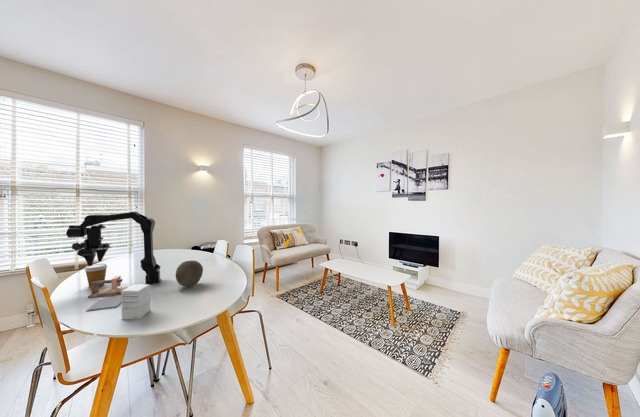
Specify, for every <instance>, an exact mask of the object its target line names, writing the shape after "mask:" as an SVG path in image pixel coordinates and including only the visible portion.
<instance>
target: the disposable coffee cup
mask: <svg viewBox="0 0 640 417" xmlns="http://www.w3.org/2000/svg"><path fill="white" fill-rule="evenodd" d="M107 268H108V266H107V263H93V264H92V266H89V265H86V266H85V267H84V270H83V271H85V274H86V278H87V284H88V287H89V288H90V289H91V282H93V281H103V280H106V273H107ZM104 285H105V284H98V288H99V287H102V286H104Z"/></svg>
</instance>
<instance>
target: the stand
mask: <svg viewBox="0 0 640 417" xmlns="http://www.w3.org/2000/svg"><path fill="white" fill-rule="evenodd" d="M117 282H121V283H122V282H123V278H121V279H118V280H117ZM98 284H104V285H105V284H111V279H105V280H103V281H93V282H91V288H90V290H91V293H90V294H89V295H87V298H88V299H90V298H99V297H100V298H101V297H107V296H114V295H116V296H117V295H118V296H119V295H121V291H122V290H124V289H126V288H128V286H123V287H121V286H120V287H117V289H113V290H111V288H103V289H99V287H98Z"/></svg>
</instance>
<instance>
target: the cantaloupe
mask: <svg viewBox="0 0 640 417" xmlns="http://www.w3.org/2000/svg"><path fill="white" fill-rule="evenodd" d="M203 268H204V267H203V265H202V264H201V263H200V262H199V261H198V260H192V259H191V260H185V261H183V262H181V263H180V264H179V265H178V266H177V268H176V271H175V279H176V282H177V284H179V285H180V286H181V287H185V288H191V287H194V286H195V285H197V284H198V283H199V282H200V280H201V279H202V276H203V273H204V272H203V271H204V269H203Z"/></svg>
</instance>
